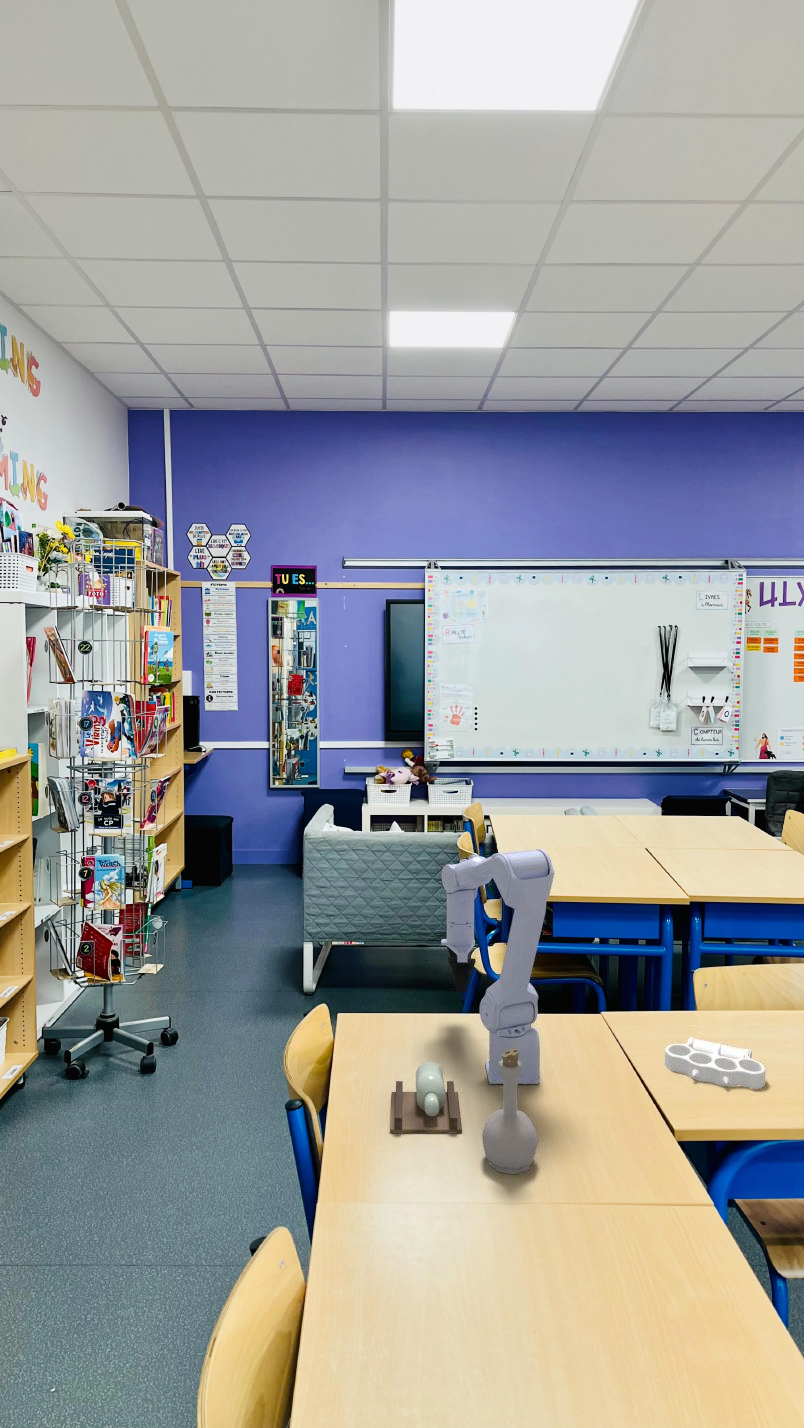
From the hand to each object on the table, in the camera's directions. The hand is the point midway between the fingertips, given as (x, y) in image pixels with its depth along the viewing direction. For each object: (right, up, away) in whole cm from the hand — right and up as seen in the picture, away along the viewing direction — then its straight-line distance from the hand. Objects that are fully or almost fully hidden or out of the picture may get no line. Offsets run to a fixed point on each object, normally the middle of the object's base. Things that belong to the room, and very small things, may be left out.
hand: (460, 983), depth 175 cm
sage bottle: (-7, -9, -24) cm, 26 cm away
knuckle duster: (+48, -12, -16) cm, 52 cm away
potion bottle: (+5, -14, -44) cm, 47 cm away
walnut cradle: (-8, -13, -31) cm, 34 cm away
